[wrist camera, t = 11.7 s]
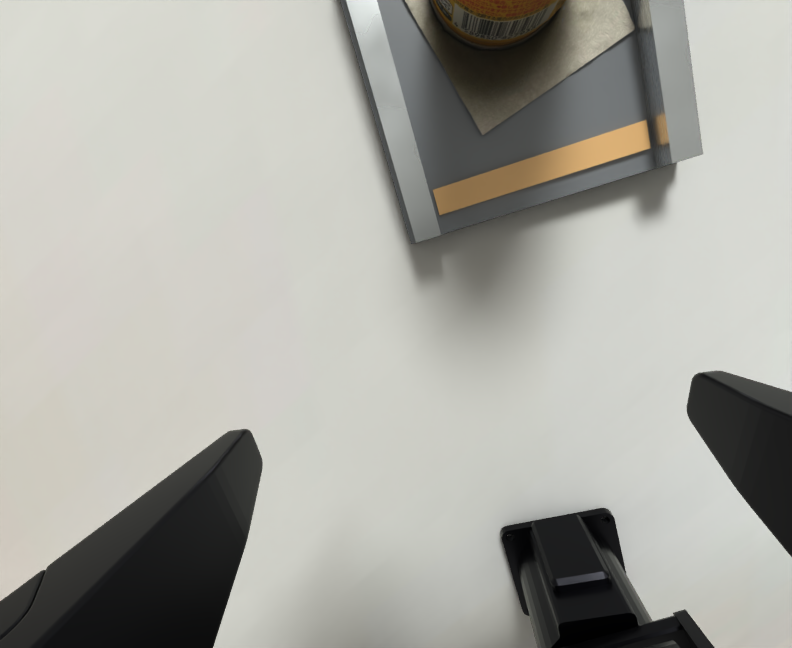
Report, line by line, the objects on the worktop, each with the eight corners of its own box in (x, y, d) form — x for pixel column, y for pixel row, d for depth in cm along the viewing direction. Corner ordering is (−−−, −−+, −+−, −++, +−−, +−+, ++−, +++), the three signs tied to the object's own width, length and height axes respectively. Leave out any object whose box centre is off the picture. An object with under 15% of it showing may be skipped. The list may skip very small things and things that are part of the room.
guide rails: (684, 159, 17) (702, 154, 16) (417, 242, 19) (416, 242, 18) (636, -194, 14) (653, -231, 13) (330, -57, 16) (323, -79, 15)
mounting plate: (677, 160, 18) (694, 156, 17) (412, 243, 20) (410, 244, 19) (631, -171, 15) (647, -204, 14) (330, -39, 17) (323, -58, 16)
